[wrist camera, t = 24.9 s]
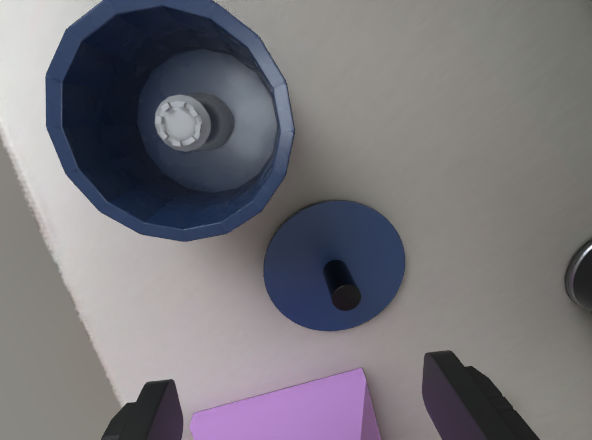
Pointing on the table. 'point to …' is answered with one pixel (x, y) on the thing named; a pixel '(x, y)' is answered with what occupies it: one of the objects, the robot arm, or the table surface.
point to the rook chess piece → (194, 122)
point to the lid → (334, 265)
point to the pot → (144, 103)
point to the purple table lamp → (296, 413)
